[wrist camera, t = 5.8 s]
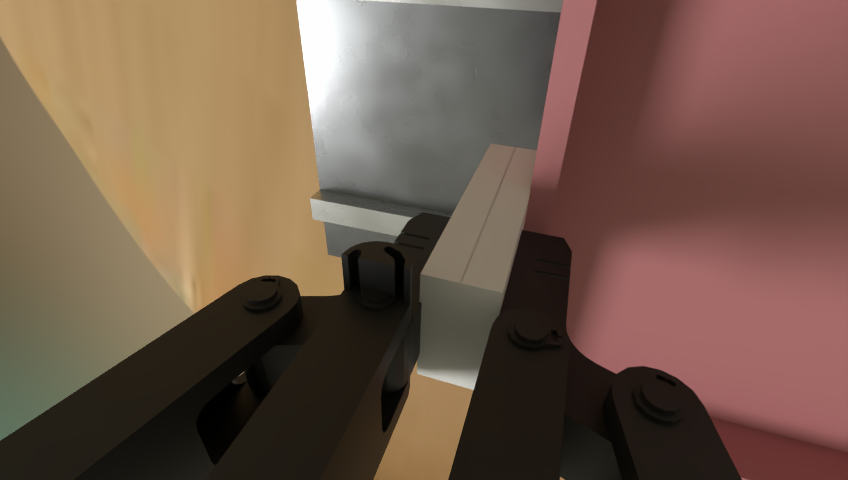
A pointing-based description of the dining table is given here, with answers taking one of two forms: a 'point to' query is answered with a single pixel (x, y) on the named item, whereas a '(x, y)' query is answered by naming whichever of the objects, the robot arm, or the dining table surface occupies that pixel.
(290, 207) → the dining table surface
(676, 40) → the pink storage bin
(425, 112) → the track
